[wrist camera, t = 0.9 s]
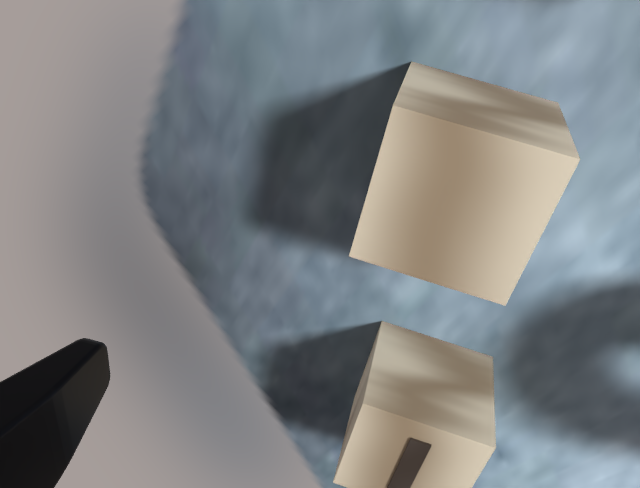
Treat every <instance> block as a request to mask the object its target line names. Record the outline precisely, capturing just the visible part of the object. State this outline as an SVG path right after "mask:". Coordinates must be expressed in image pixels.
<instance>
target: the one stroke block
mask: <svg viewBox="0 0 640 488" xmlns="http://www.w3.org/2000/svg"><path fill="white" fill-rule="evenodd" d="M495 449H496V438H495V408H494V377H493V357H492V356H489V355H486V354H482V353H479V352H476V351H473V350H470V349H467V348H464V347H461V346H458V345H455V344H452V343H448V342H445V341H442V340H439V339H436V338H433V337H430V336H427V335H424V334H421V333H417V332H414V331H411V330H408V329H405V328H402V327H399V326H396V325H393V324H390V323H387V322H383V321H382V322H381V325H380V327H379V330H378V333H377V336H376V338H375V341H374V344H373V347H372V350H371V352H370V355H369V358H368V361H367V363H366V366H365V369H364V372H363V375H362V377H361V380H360V383H359V386H358V388H357V391H356V394H355V397H354V401H353V405H352V409H351V413H350V417H349V421H348V425H347V429H346V433H345V437H344V441H343V445H342V449H341V453H340V457H339V461H338V465H337V469H336V473H335V477H334V481H333V483H336V484H339V485H342V486H345V487H347V488H472V486H473V485H474V483H475V481H476V480H477V478H478V477H479V475H480V473H481V472H482V470H483V468H484V467H485V465H486V463H487V462H488V460H489V458H490V457H491V455H492V454H493V452H494V450H495Z"/></svg>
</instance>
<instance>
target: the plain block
mask: <svg viewBox="0 0 640 488" xmlns="http://www.w3.org/2000/svg"><path fill="white" fill-rule="evenodd" d="M579 161H580V157H579V155H578V152H577V150H576V147H575V145H574V142H573V140H572V137H571V134H570V132H569V129H568V127H567V124H566V122H565V119H564V117H563V114H562V112H561V109H560V107H559V104H558V103H557V102H553V101H550V100H546V99H543V98H539V97H536V96H532V95H529V94H525V93H521V92H518V91H514V90H511V89H507V88H504V87H500V86H497V85H493V84H489V83H486V82H482V81H479V80H475V79H472V78H468V77H465V76H461V75H457V74H454V73H450V72H447V71H443V70H440V69H436V68H433V67H429V66H425V65H422V64H418V63H415V62H411V64H410V66H409V69H408V71H407V73H406V76H405V78H404V80H403V83H402V85H401V87H400V90H399V92H398V95H397V97H396V99H395V102H394V104H393V107H392V110H391V114H390V117H389V121H388V124H387V127H386V131H385V134H384V138H383V141H382V144H381V148H380V151H379V155H378V158H377V162H376V165H375V168H374V172H373V175H372V179H371V182H370V186H369V189H368V192H367V196H366V199H365V203H364V206H363V210H362V213H361V216H360V220H359V223H358V227H357V230H356V234H355V237H354V240H353V244H352V247H351V251H350V254H349V257H352V258H355V259H359V260H362V261H365V262H368V263H371V264H375V265H378V266H381V267H384V268H387V269H390V270H394V271H397V272H400V273H403V274H406V275H409V276H413V277H416V278H419V279H422V280H425V281H428V282H432V283H435V284H438V285H441V286H444V287H448V288H451V289H454V290H457V291H460V292H463V293H467V294H470V295H473V296H476V297H479V298H482V299H486V300H489V301H492V302H495V303H498V304H501V305H506V303H507V302H508V300H509V298H510V296H511V294H512V292H513V290H514V288H515V286H516V284H517V282H518V280H519V278H520V276H521V274H522V272H523V270H524V268H525V266H526V264H527V262H528V260H529V259H530V257H531V255H532V253H533V251H534V249H535V247H536V245H537V243H538V241H539V239H540V237H541V235H542V233H543V231H544V229H545V227H546V225H547V223H548V221H549V219H550V217H551V216H552V214H553V212H554V210H555V208H556V206H557V204H558V202H559V200H560V198H561V196H562V194H563V192H564V190H565V188H566V186H567V184H568V182H569V180H570V178H571V176H572V174H573V173H574V171H575V169H576V167H577V165H578V163H579Z"/></svg>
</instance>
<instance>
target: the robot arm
mask: <svg viewBox="0 0 640 488" xmlns="http://www.w3.org/2000/svg"><path fill="white" fill-rule="evenodd" d="M109 380H110V369H109V360H108V353H107V347H106V346H105V344H104V343H102V342H98V341H94V340H91V339H86V338H83V339H80V340H77V341H75V342H73V343H71V344H70V345H68V346H66V347H64V348H62V349H60V350H58V351H57V352H55V353H53V354H51V355H49V356H47V357H46V358H44V359H42V360H40V361H38V362H36V363H35V364H33V365H31V366H29V367H27V368H26V369H23V370H22V371H20V372H18V373H16V374H14V375H12V376H11V377H9V378H7V379H5V380H3V381H1V382H0V488H54V487H55V485H56V484H57V482H58V481H59V479H60V478H61V476H62V474H63V473H64V471H65V469H66V468H67V466H68V464H69V462H70V460H71V459H72V456H73V455H74V453H75V451H76V449H77V447H78V445H79V443H80V441H81V439H82V437H83V435H84V433H85V431H86V429H87V427H88V425H89V423H90V421H91V419H92V417H93V415H94V413H95V411H96V409H97V407H98V405H99V403H100V401H101V399H102V397H103V395H104V393H105V391H106V389H107V387H108V384H109Z"/></svg>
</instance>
